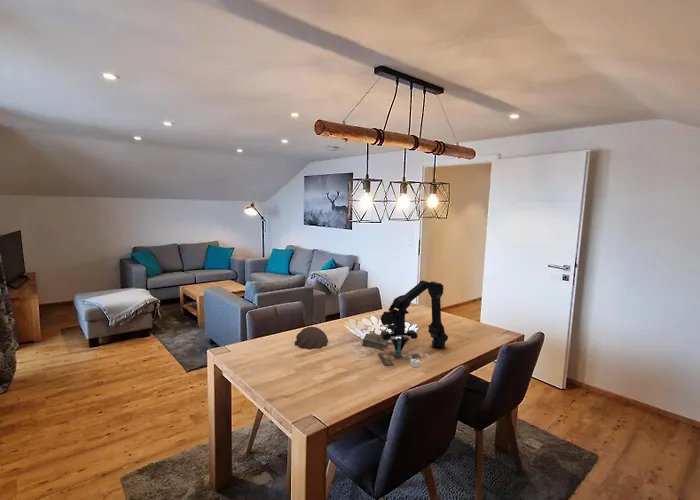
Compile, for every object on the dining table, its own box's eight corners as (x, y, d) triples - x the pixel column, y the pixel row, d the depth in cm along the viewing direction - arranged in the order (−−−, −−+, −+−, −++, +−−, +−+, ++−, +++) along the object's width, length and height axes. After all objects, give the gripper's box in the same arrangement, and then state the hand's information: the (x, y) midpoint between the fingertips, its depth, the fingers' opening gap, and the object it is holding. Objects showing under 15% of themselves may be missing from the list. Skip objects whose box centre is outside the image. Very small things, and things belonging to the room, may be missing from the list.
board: (426, 352, 211) (426, 349, 210) (436, 362, 197) (436, 360, 197) (378, 354, 205) (378, 352, 205) (385, 366, 192) (385, 363, 192)
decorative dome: (302, 352, 207) (302, 335, 206) (290, 340, 224) (290, 324, 223) (333, 346, 216) (334, 329, 215) (319, 335, 234) (319, 319, 232)
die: (417, 366, 193) (417, 358, 192) (420, 369, 189) (420, 361, 188) (409, 366, 192) (410, 358, 192) (412, 370, 188) (412, 362, 188)
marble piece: (386, 351, 211) (386, 344, 210) (360, 348, 214) (360, 341, 214) (390, 340, 227) (390, 334, 226) (366, 338, 230) (366, 331, 230)
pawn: (400, 352, 202) (401, 337, 201) (402, 354, 198) (403, 339, 197) (394, 352, 201) (394, 337, 200) (396, 355, 198) (396, 340, 197)
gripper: (411, 316, 207) (409, 343, 209) (378, 318, 204) (377, 345, 206) (418, 323, 196) (417, 351, 198) (383, 324, 193) (382, 353, 195)
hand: (398, 350), depth 200 cm, fingers closed on pawn, 3 cm apart
